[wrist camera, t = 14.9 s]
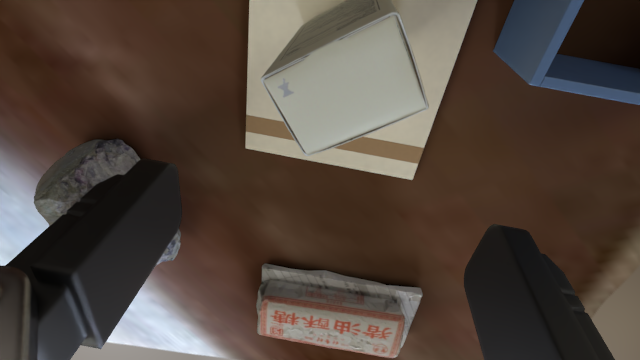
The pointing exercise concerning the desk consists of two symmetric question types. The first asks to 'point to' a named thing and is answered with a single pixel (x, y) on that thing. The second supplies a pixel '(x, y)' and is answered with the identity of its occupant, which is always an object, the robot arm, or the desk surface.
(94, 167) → the mineral rock
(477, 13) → the desk surface
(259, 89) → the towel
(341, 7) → the cosmetic box
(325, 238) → the desk surface
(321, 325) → the packaged product
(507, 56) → the storage box
